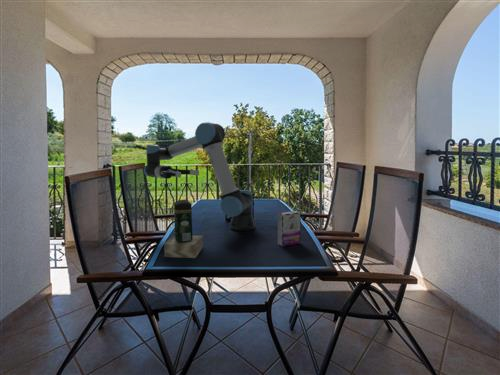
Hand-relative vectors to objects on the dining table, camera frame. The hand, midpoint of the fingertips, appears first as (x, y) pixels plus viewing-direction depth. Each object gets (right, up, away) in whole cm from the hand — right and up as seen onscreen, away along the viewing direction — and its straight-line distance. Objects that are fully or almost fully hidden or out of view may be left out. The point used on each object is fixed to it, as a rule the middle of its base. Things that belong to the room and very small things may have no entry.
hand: (189, 173), depth 168 cm
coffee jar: (+2, -32, -26) cm, 41 cm away
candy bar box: (+53, -36, -12) cm, 65 cm away
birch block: (+2, -38, -25) cm, 45 cm away
